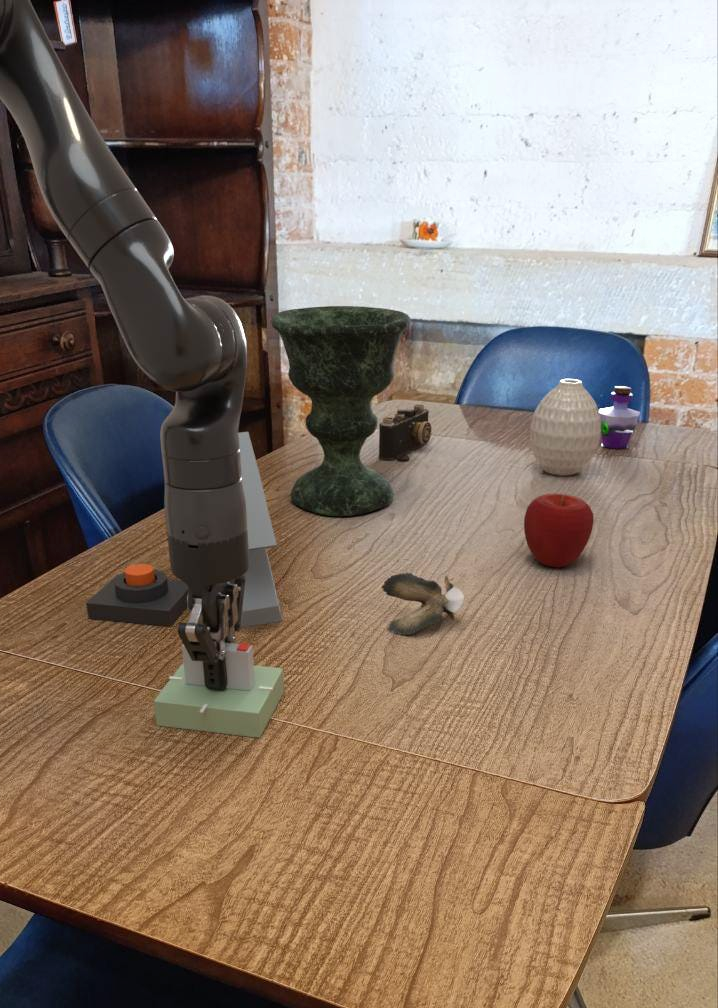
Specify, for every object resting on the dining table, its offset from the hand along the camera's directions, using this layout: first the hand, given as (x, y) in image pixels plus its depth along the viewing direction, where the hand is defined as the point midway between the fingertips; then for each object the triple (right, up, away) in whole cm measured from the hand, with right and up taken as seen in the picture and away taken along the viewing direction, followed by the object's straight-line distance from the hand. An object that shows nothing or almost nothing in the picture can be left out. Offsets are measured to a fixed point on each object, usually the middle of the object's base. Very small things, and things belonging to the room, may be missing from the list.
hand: (220, 682), depth 91 cm
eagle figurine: (+22, +6, +19) cm, 30 cm away
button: (-13, +12, +21) cm, 28 cm away
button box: (-13, +9, +23) cm, 28 cm away
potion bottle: (+67, +44, +90) cm, 121 cm away
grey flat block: (0, 0, 0) cm, 0 cm away
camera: (+25, +42, +86) cm, 99 cm away
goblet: (+12, +29, +61) cm, 68 cm away
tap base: (0, -3, +2) cm, 3 cm away
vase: (+53, +36, +75) cm, 98 cm away
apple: (+43, +15, +36) cm, 58 cm away
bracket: (-3, +13, +31) cm, 34 cm away
